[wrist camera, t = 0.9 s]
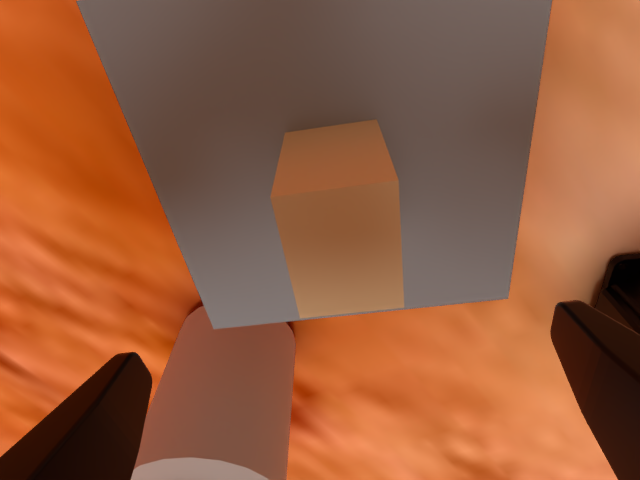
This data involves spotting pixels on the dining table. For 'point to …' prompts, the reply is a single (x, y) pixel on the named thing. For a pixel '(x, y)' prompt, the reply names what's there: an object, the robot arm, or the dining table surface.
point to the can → (221, 405)
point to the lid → (331, 145)
